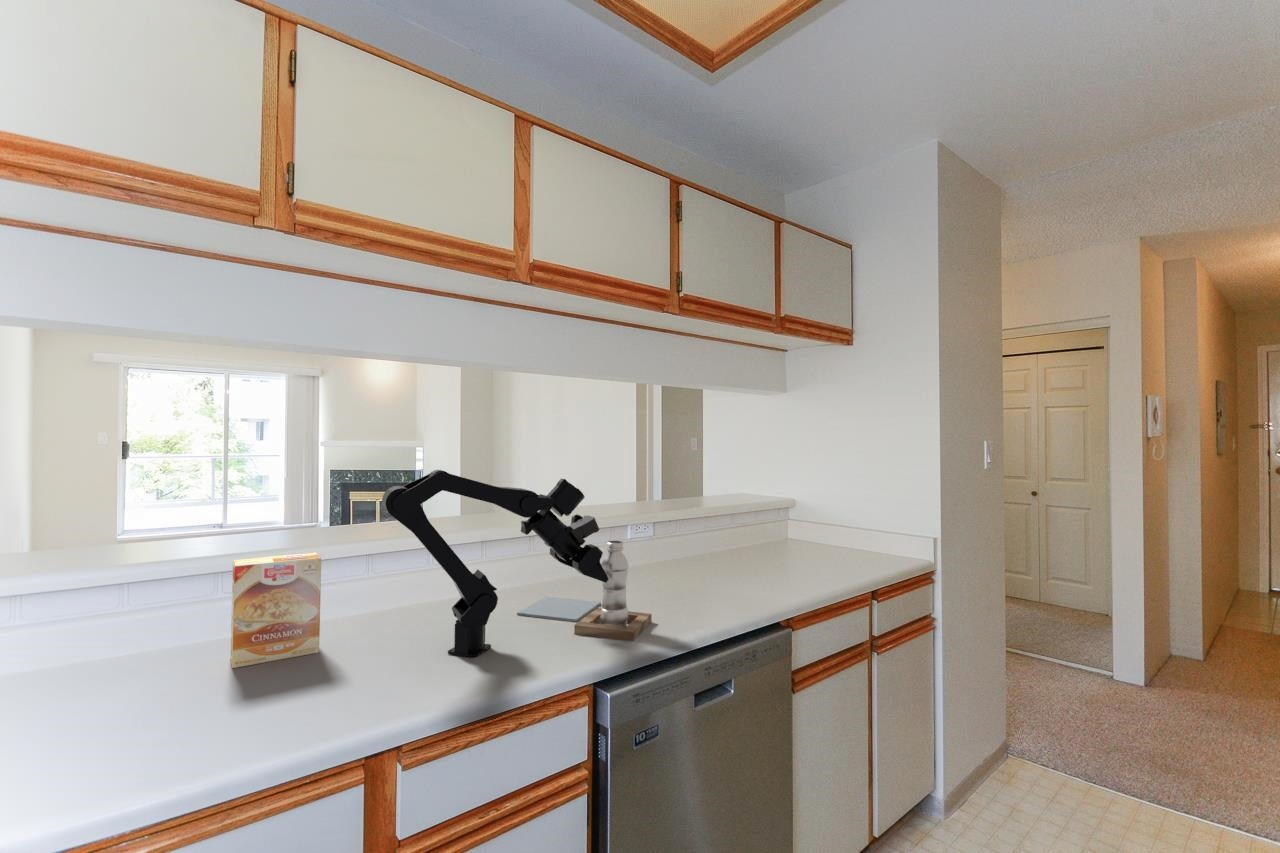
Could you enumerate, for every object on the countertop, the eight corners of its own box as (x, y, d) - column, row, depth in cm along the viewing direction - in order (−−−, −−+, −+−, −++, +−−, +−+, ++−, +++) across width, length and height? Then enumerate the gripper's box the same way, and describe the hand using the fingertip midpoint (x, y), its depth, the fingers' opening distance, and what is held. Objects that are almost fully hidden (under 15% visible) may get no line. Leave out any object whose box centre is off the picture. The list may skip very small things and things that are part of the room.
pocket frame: (633, 640, 132) (633, 631, 132) (574, 633, 136) (574, 624, 136) (651, 622, 145) (651, 613, 145) (597, 616, 150) (597, 608, 150)
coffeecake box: (231, 669, 114) (233, 565, 114) (229, 657, 120) (231, 559, 120) (320, 653, 123) (322, 556, 123) (315, 643, 128) (316, 551, 129)
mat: (576, 621, 145) (576, 619, 145) (516, 615, 150) (516, 612, 150) (600, 604, 160) (600, 601, 160) (546, 598, 165) (546, 596, 165)
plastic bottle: (634, 627, 141) (635, 541, 141) (613, 634, 136) (615, 545, 136) (614, 621, 145) (615, 538, 146) (594, 628, 140) (595, 541, 141)
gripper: (594, 509, 128) (639, 556, 133) (562, 500, 145) (604, 542, 150) (559, 550, 125) (607, 597, 130) (530, 536, 141) (574, 578, 146)
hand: (598, 576), depth 139 cm, fingers open, 9 cm apart
